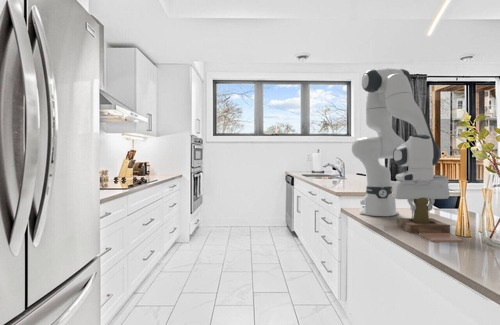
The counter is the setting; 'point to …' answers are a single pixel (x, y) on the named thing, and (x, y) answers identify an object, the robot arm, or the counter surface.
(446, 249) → the counter surface
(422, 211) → the olive flared column
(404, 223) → the walnut holder
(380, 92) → the robot arm
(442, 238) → the terracotta tile
